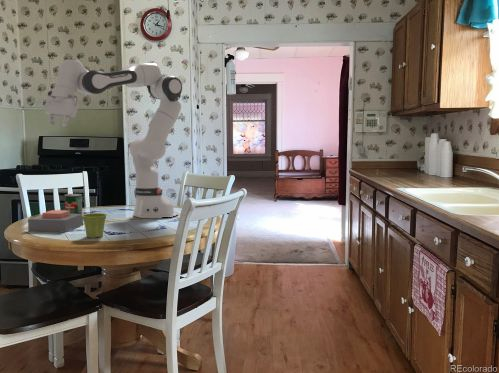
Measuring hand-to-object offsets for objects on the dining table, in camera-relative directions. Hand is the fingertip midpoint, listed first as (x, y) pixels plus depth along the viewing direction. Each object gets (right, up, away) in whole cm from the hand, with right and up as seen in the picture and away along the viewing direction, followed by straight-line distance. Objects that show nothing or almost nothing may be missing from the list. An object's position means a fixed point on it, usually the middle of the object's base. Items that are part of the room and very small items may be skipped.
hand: (57, 125), depth 196 cm
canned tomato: (-3, -42, +25) cm, 49 cm away
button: (+1, -42, -4) cm, 42 cm away
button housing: (+1, -45, -3) cm, 45 cm away
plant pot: (+23, -47, -19) cm, 55 cm away
